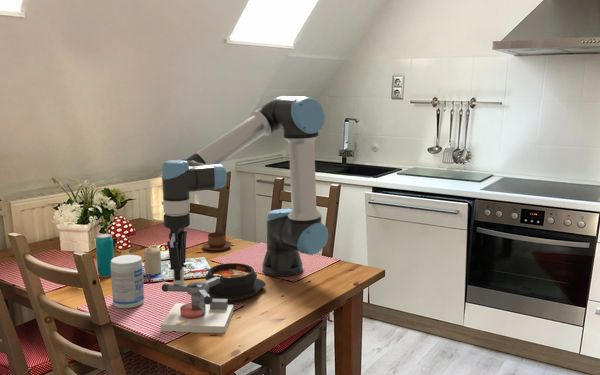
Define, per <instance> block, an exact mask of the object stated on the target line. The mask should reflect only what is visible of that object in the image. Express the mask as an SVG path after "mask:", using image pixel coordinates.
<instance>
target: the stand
mask: <svg viewBox="0 0 600 375" xmlns="http://www.w3.org/2000/svg"><path fill="white" fill-rule="evenodd" d="M184 304H186V303H185V302H184V303H183V302H182V303H181V302H179V303H177V302H176V303H174V305H173V307H172V308H171V309H170V310H169V312H168V313H167V315H166V317H165V318H164V320H162V322H161V324H160V332H170V331H176V333H206V334H208V333H210V334H211V333H212V334H225V333H226V331H227V328H228V327H229V326H228V325H229V323H230V320H231V319H232V317H233V316H232V315H233V313H234V311H235V310H234V304H229V301H228V299H213V301H212V303H211V304H209V305H207V304H205V306H206V314H205V315H203V316H200V317H197V318H185V317H182V316H181V314H180V308H181V306H182V305H184Z"/></svg>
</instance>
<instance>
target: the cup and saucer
mask: <svg viewBox="0 0 600 375" xmlns="http://www.w3.org/2000/svg"><path fill="white" fill-rule="evenodd" d="M231 246H232V243H231V241H228V240H226V233H225V232H220V231H218V232H217V231H216V232H210V233H208V235H207V241H205V242H203V243H202V247H203V248H204V249H205V250H208V251H217V252H219V251H224V250H227V249H229V248H230V247H231Z"/></svg>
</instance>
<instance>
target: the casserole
mask: <svg viewBox="0 0 600 375" xmlns="http://www.w3.org/2000/svg"><path fill="white" fill-rule="evenodd" d="M218 275H222V276H223V278H224V280H223V282H221V283H218V284H216V285H214V286H212V287H210V288H209V292H208V294H209V295H210V296H211V297H212V299H228V302H229V301H238V300H242V299H247V298H250V297H252V296H254V295H256V294H257V293H259V291H260V290H261V289H262V288H264V287H265V286H266V285H267V284H266V282H265V281H264V280H262V279H260V278H258V275H257V273H256V272H255V269H254V267H252V266H251V265H248V264H245V263H240V262H239V263H238V262H229V263H221V264H217V265H214V266H212V267H210V268H209V269H208V270H207V273H206V275H205V277H204V278H205V281H207V280H209V279H212V278H214V277H216V276H218Z"/></svg>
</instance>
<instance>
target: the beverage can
mask: <svg viewBox="0 0 600 375" xmlns="http://www.w3.org/2000/svg"><path fill="white" fill-rule="evenodd" d="M112 236H113V235H112V234H111V233H100V234H97V235H96V239H95V249H96V250H95V251H96V266H97V274H98V275H99V277H100V278H103V279H104V278H105V279H106V278H111V260H112V259H113V258H115V253H114V238H113V237H112Z"/></svg>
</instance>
